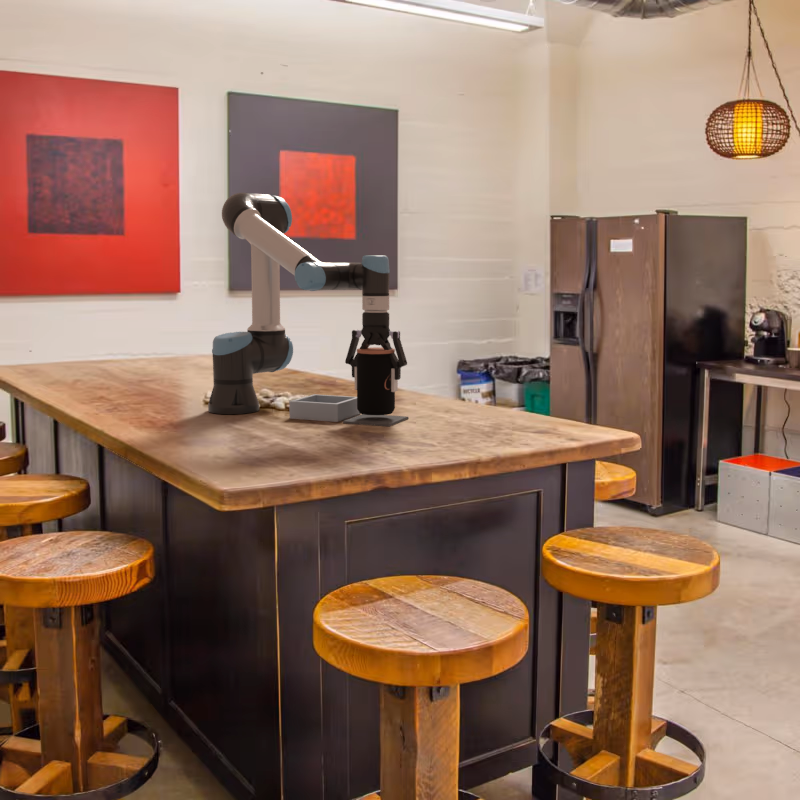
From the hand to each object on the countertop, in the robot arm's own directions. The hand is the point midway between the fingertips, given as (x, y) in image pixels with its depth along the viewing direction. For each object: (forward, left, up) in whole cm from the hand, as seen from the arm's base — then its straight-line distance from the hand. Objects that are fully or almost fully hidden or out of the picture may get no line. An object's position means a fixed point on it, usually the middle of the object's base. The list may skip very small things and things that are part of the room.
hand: (376, 390), depth 258 cm
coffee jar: (0, 0, -7) cm, 7 cm away
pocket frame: (-17, +2, -9) cm, 19 cm away
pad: (0, 0, -9) cm, 9 cm away
